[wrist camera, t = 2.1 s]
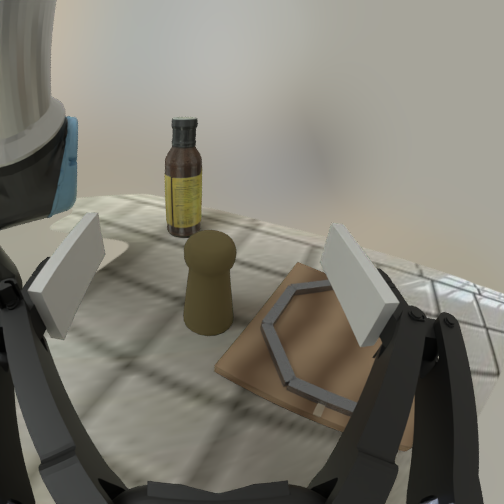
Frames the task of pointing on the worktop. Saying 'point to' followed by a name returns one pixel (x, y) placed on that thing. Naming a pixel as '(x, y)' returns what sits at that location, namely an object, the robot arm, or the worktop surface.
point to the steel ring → (282, 361)
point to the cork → (209, 282)
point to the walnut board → (306, 354)
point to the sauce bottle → (183, 179)
